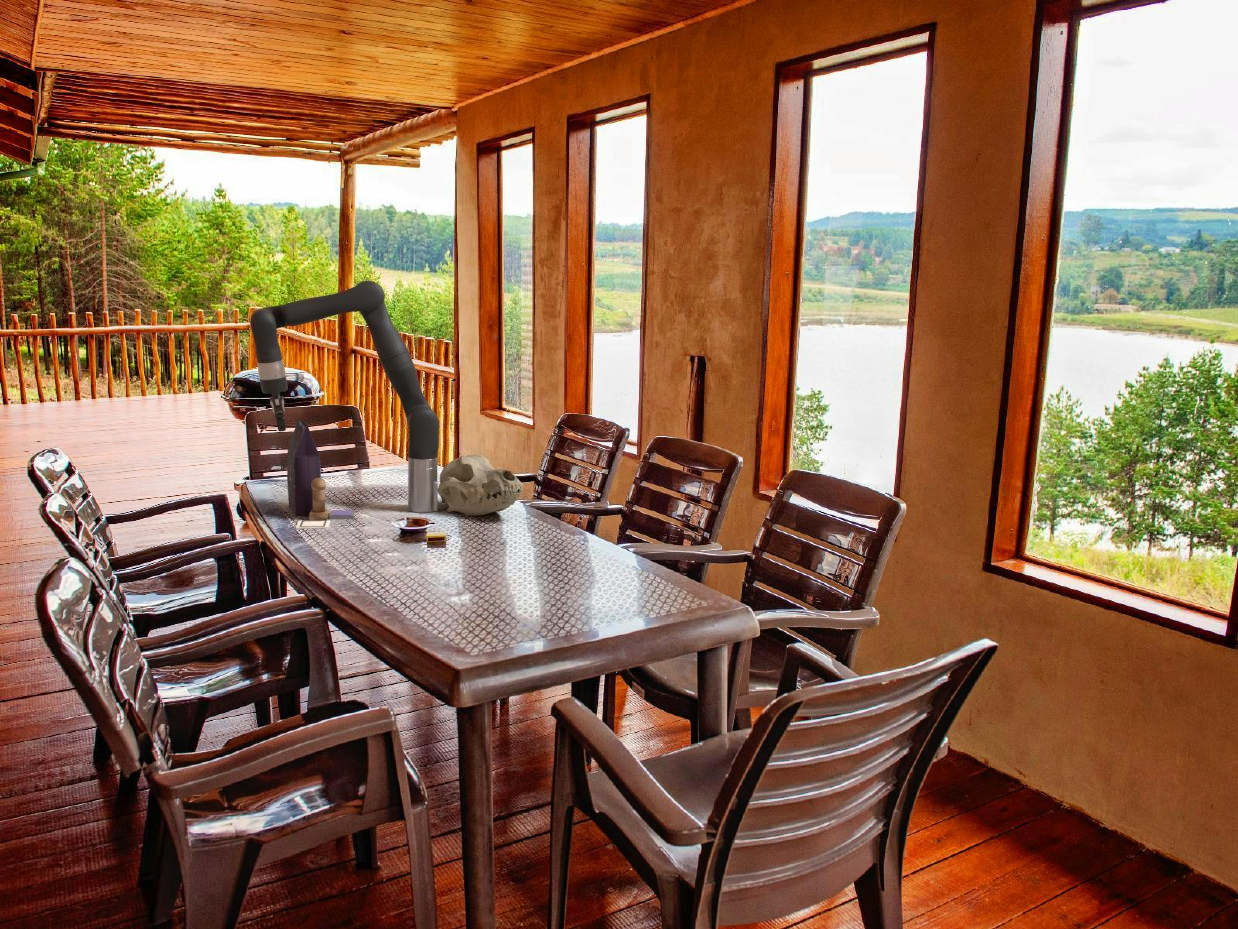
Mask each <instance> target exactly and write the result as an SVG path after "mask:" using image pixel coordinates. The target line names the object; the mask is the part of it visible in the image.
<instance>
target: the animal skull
mask: <svg viewBox="0 0 1238 929" xmlns="http://www.w3.org/2000/svg"><path fill="white" fill-rule="evenodd" d="M523 490H524V484H523V483H522V482H521V481H520V480H519V478H518V477H517V476H516V475H515V474H513V472H512V470H511V471H510V470H508V469H503V468H501V469H495V467H494V466H493V465H492V464H491V463H490V459H488V458H487V457H486V456H483V455H481V454H477V453H475V454H469V455H465V456H464V455H461V456H459V457H457V458H455V459H453V460H451V461H449V462H448V463H447V464H446V465H444V466H443V468H442V470H441V473H440V474H439V484H438V495H439V497H440V499H441V502H440V503H441V504H445V503H446V504H447V505H448V508H447V509H446V512H448V513H451V512H458V513H461V514H464V515H466V516H472V517H473V516H474V517H475V516H482V515H487V514H490V513H494V512H495V513H496V512H498V513H499V512H503V511H504V510H507V509H508V508H510V507H511V506H514V504H515V503H516V502H517V500H518V499H519V497H520V496H521V495H523Z"/></svg>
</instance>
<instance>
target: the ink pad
mask: <svg viewBox="0 0 1238 929" xmlns="http://www.w3.org/2000/svg"><path fill="white" fill-rule="evenodd" d="M354 517H355V510H353V509H349V510H348V509H347V510H345V509H343V510H341V509H340V510H339V509H337V510H334V509H333V510H330V513H329V514H328V518H329V519H328V520H353V519H354Z"/></svg>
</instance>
